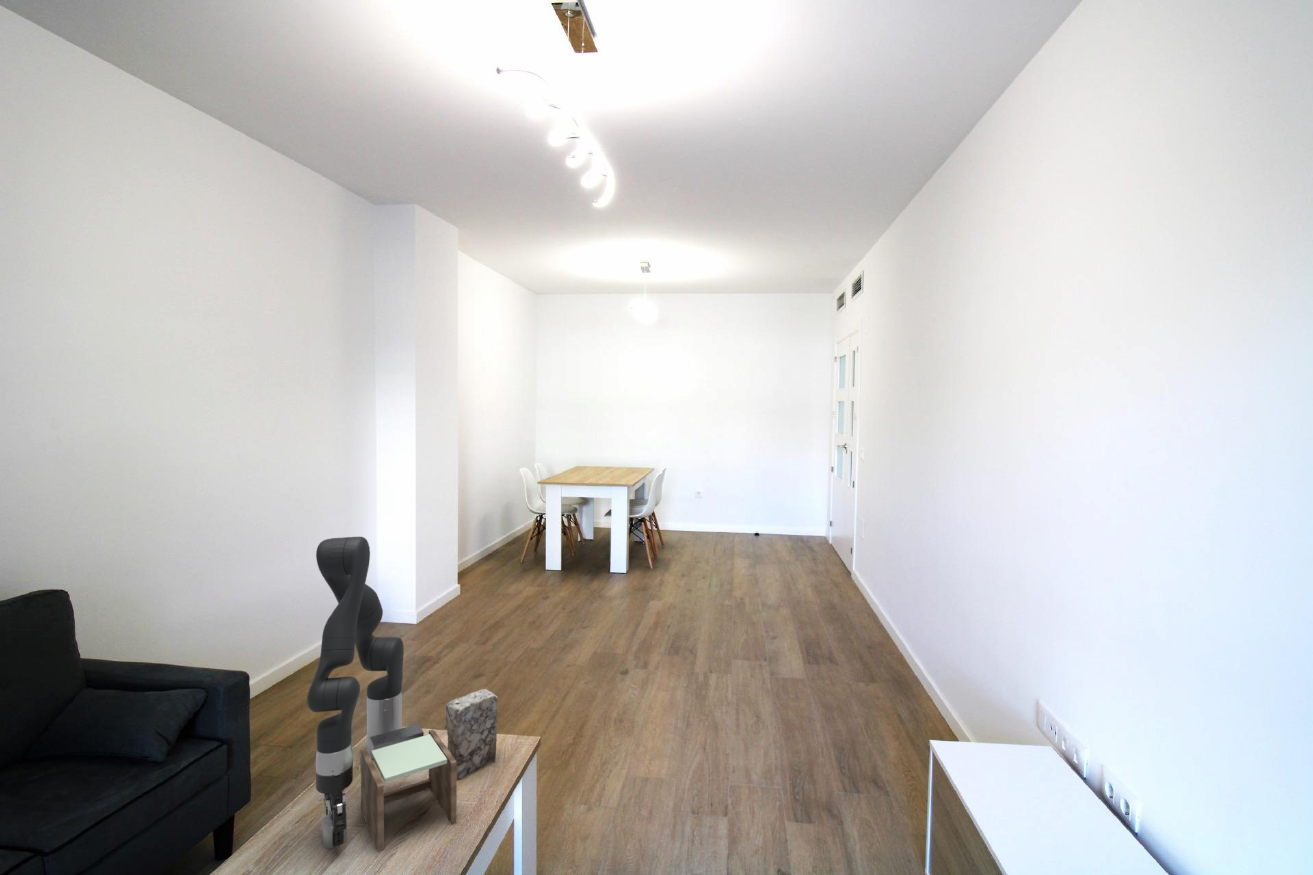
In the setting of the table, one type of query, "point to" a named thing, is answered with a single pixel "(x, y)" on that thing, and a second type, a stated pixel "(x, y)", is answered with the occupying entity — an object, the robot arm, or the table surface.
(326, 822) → the smooth gray cylinder
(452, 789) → the stand
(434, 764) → the trapdoor
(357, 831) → the table surface
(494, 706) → the stone block
